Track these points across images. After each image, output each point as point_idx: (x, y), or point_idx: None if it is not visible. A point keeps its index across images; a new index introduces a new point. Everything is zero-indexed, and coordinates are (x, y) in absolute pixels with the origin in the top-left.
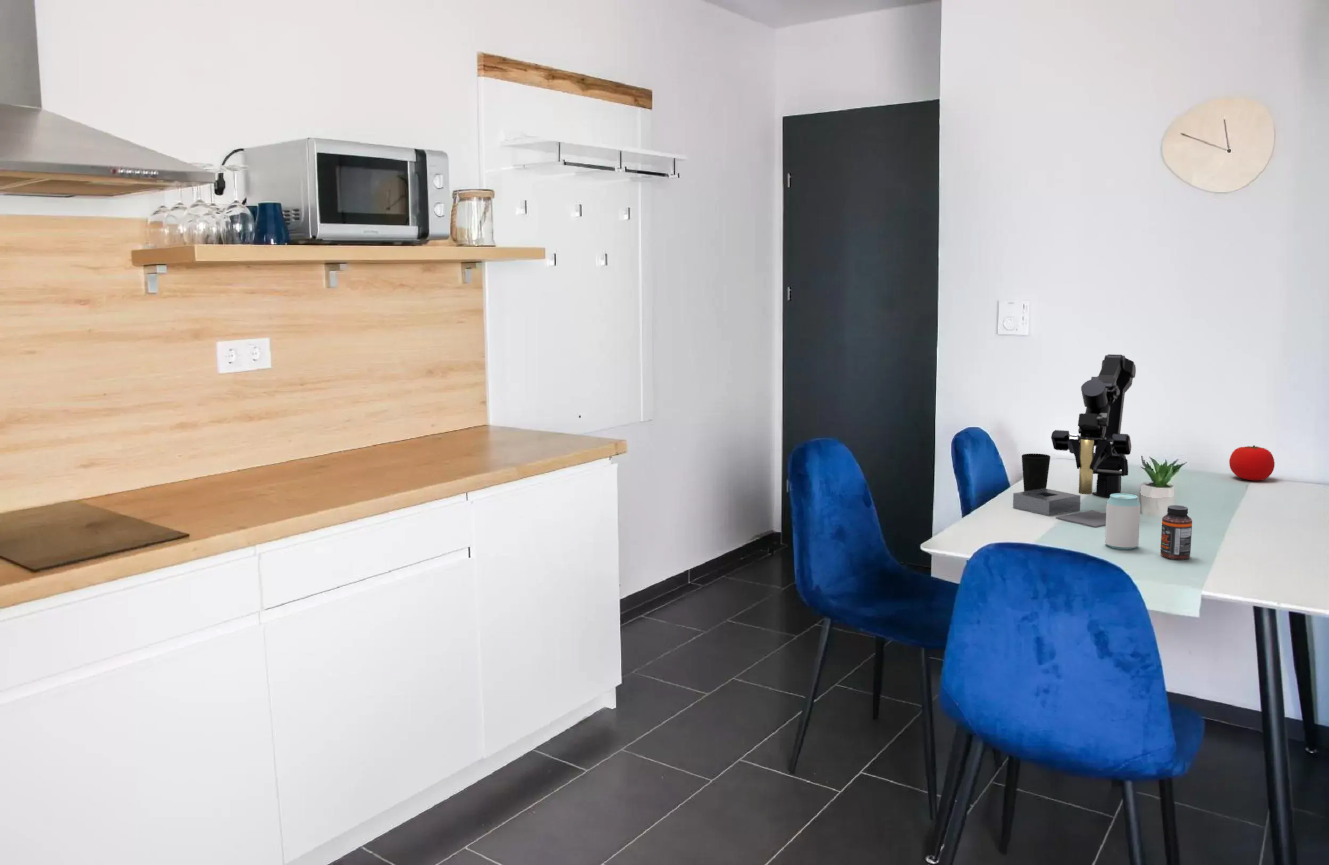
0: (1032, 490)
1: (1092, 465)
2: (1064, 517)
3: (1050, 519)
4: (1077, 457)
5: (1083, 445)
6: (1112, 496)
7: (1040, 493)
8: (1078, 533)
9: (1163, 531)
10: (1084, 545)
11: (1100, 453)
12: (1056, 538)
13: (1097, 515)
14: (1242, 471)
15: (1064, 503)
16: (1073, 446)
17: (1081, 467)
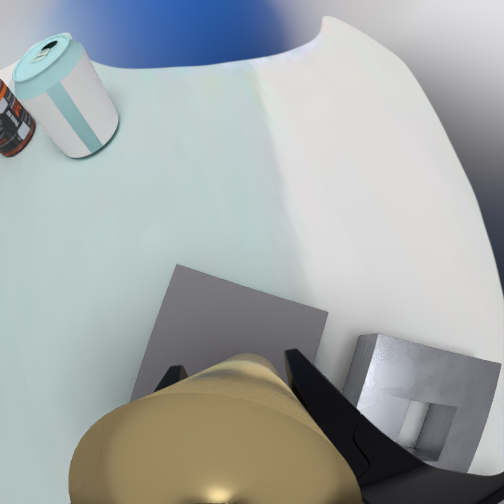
0: (474, 447)
1: (175, 375)
2: (302, 323)
3: (334, 290)
4: (323, 400)
5: (244, 380)
6: (65, 34)
7: (446, 436)
8: (196, 174)
9: (12, 93)
10: (156, 95)
11: None
12: (225, 106)
13: None
14: None
15: None
16: (428, 472)
17: (263, 364)
